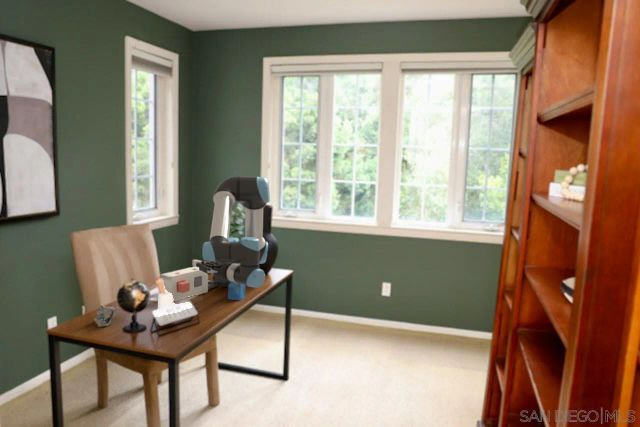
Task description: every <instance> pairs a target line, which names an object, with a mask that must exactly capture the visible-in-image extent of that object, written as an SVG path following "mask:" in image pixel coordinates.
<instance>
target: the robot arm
mask: <svg viewBox="0 0 640 427" xmlns="http://www.w3.org/2000/svg"><path fill="white" fill-rule="evenodd" d="M269 183H270V182H269V180H268V178H267V177H261V176H242V175H241V176H240V175H239V176H238V175H233V176H229V177H227V178H225V179H224V180H223V181H221V182H220V183H219V184H218V185H217V187H216V189H215V191H214V192H213V196H212V199H213V200H212V201H213V204H214V207H213V214H212V220H211V228H210V235H209V241H205V242H203V244H202V259H203V260H204V261H203V260H199V259H192V267H198V268H199V270H200V271H203V272H205V273H207V274H208V276H210V275H212V276H211V283H213V284H212V285H216V287H217V286H218V287H228V286H229V284H230V282H231V281H232V282H235V283H236V284H238V283H239V284H243V285H246V286H247V287H250V288H257V289H258V288H260V287H261V286H262V285H263V284H264V283H265V280H266V274H265V271H264V270H263V269H261V268H260V264H265V263H266V261H267V257H268V251H269V243H268V241H266V240H265V238H264V237H263V233H264V232H263V231H264V208H265V207H266V206H267V203H270V201H271V195H270V193H271V192H270V184H269ZM236 202H239V203H240V202H241V204H242V206H243V207H244V209H245V211H244V213H245V214H244V216H245V217H244V218H245V219H244V220H245V226H244V228H245V235H244V236H245V237H244V236H243V237H241V238H240V239H239V238H238V237H230V231H231V230H230V229H231V223H232V222H231V220H232V212H233V211H232V210H233V205H234V204H236ZM246 286H245V287H246Z"/></svg>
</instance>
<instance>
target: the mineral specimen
mask: <svg viewBox="0 0 640 427" xmlns="http://www.w3.org/2000/svg"><path fill="white" fill-rule="evenodd" d="M119 309H120V308H119V307H118V306H117V307H116V306H105V305H100V306H99V308H98V311H97V312H96V313H97V314H96V315H97V316H96V317H95V318H94V322H95V325H97V328H102V327H108V326H109V325H111V321H112V320H113V318H114V317H115V315H116V314H118V312H119Z"/></svg>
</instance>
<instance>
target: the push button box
mask: <svg viewBox="0 0 640 427" xmlns="http://www.w3.org/2000/svg"><path fill="white" fill-rule="evenodd" d="M199 276H201V277H202V285H199V286H196V287H194V278H195V277H199ZM160 277H161V278H163V280H164V286H165V289H166V290H167V291H168V292H170V293H172V295H173V298H174V301H175V302H179V301H182V300H185V299H184V298H186V299H188V298H187V297H188V296H192V295H196V296H199V295H202V294H205V293H208V291H209V290H210V289H213V288H216V287H217V286H216V285H214V284H212V285H209V283H208V282H209V275H208V274H207V273H205V272H203V271H200V270H199V268H198V267H194V266H189V267H186V268H181V269H177V270H172V271H168V272H164V273H160V276H159V278H160ZM180 281H186V282H189V283H190V291H188V292H185V293H181V292H178V291H177V282H180ZM192 297H193V296H192ZM181 299H182V300H181ZM178 300H179V301H178ZM175 302H174V303H175Z"/></svg>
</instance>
